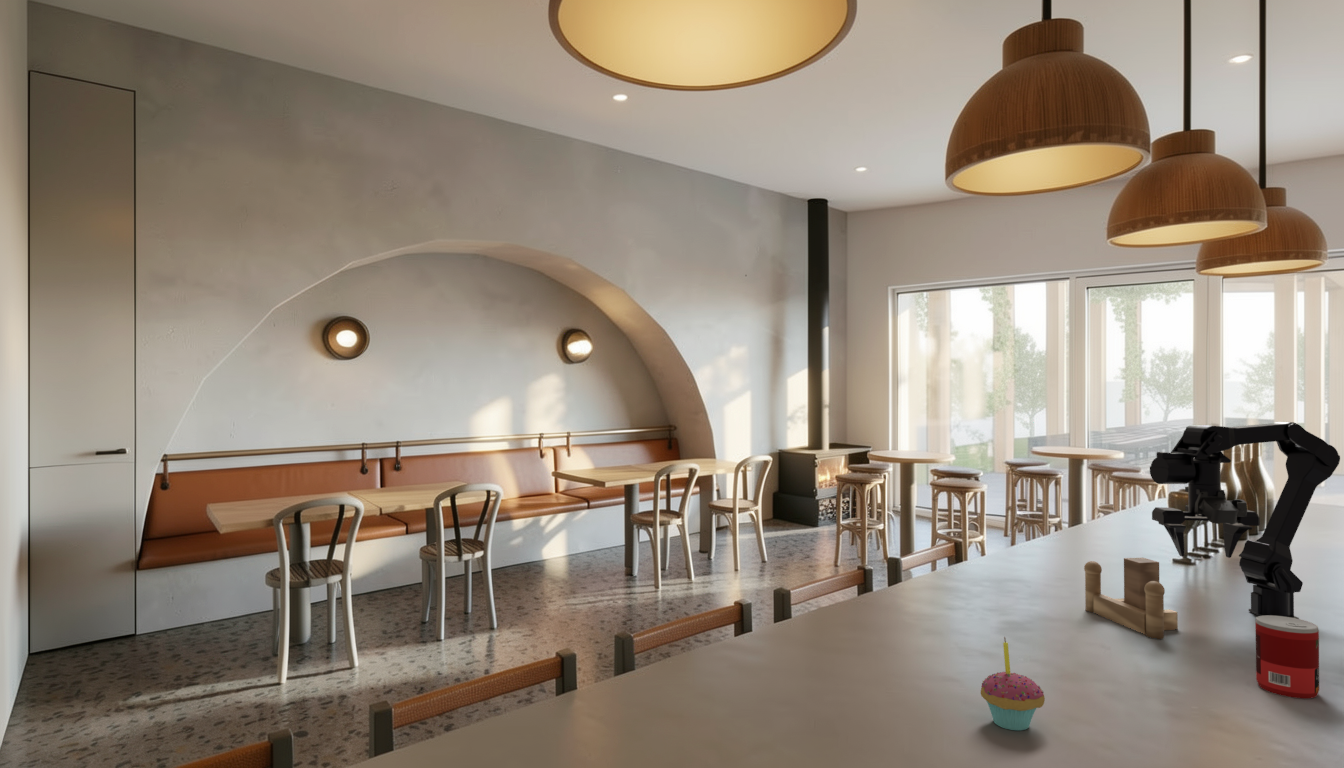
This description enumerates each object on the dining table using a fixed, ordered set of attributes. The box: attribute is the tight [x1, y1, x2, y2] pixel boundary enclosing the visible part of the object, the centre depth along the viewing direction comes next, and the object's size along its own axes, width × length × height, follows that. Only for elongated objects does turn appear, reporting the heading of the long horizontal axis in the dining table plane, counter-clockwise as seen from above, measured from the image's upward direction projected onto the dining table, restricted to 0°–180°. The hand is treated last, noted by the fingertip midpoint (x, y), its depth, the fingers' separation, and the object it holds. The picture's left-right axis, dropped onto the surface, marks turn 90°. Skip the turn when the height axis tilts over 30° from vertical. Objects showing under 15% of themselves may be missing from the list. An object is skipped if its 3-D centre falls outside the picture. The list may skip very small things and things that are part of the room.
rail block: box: [1123, 557, 1160, 611], centre depth 160 cm, size 5×5×13 cm
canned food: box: [1254, 615, 1320, 700], centre depth 124 cm, size 8×8×11 cm
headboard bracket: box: [1083, 560, 1179, 640], centre depth 160 cm, size 10×21×11 cm, turn 7°
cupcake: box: [980, 636, 1046, 731], centre depth 111 cm, size 9×8×12 cm
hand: (1205, 556), depth 163 cm, fingers open, 9 cm apart
